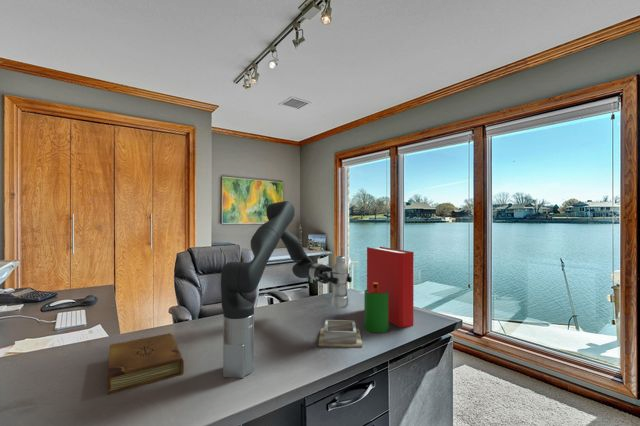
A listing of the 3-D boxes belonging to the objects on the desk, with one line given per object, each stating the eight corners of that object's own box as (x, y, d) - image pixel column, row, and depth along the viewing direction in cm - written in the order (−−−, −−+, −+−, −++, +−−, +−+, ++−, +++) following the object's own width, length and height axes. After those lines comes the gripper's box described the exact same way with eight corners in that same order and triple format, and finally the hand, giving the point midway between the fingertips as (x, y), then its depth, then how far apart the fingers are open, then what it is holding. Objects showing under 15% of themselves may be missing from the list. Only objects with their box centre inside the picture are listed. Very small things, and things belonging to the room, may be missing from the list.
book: (366, 309, 155) (366, 247, 156) (379, 307, 158) (380, 246, 159) (400, 327, 130) (400, 253, 130) (415, 325, 133) (415, 252, 134)
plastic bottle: (334, 310, 115) (335, 258, 115) (329, 305, 121) (329, 255, 121) (350, 309, 117) (351, 257, 117) (344, 304, 123) (345, 255, 123)
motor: (387, 325, 133) (387, 279, 133) (390, 333, 124) (390, 284, 124) (364, 324, 134) (364, 279, 134) (365, 332, 125) (365, 283, 125)
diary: (183, 376, 91) (183, 357, 91) (107, 397, 81) (107, 375, 81) (172, 348, 110) (172, 332, 110) (109, 361, 100) (110, 344, 100)
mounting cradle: (362, 347, 110) (362, 334, 110) (318, 346, 111) (318, 333, 111) (359, 330, 126) (359, 319, 126) (320, 329, 127) (321, 318, 127)
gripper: (306, 265, 127) (328, 272, 113) (334, 263, 135) (358, 269, 121) (306, 283, 127) (328, 292, 113) (334, 280, 135) (358, 288, 121)
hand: (343, 280), depth 117 cm, fingers closed on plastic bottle, 6 cm apart
